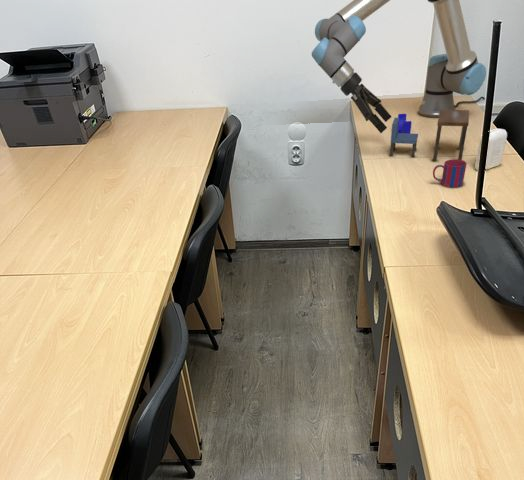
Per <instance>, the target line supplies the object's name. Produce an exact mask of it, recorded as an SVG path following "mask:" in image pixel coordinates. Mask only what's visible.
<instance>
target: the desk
mask: <svg viewBox="0 0 524 480" xmlns="http://www.w3.org/2000/svg"><path fill="white" fill-rule="evenodd" d="M469 123H470V109H469V110H468V109H455V110H440V113H439V117H438V118H437V125H436V126H437V130H436V135H435V143H434V151H433V157H432V162H437V161H438V153H439V147H440V142H441V141H440V139H441V134H442V127H461V131H460V139H459V144H458V155H457V159H458V160H462V159H463V154H464V148H465V142H466V137H467V132H468V131H467V130H468V127H469Z"/></svg>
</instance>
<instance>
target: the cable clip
mask: <svg viewBox="0 0 524 480" xmlns="http://www.w3.org/2000/svg"><path fill="white" fill-rule="evenodd" d="M397 118H399V125H398V133H410V134H411V132H412V120H407V113H398V114H397Z"/></svg>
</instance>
